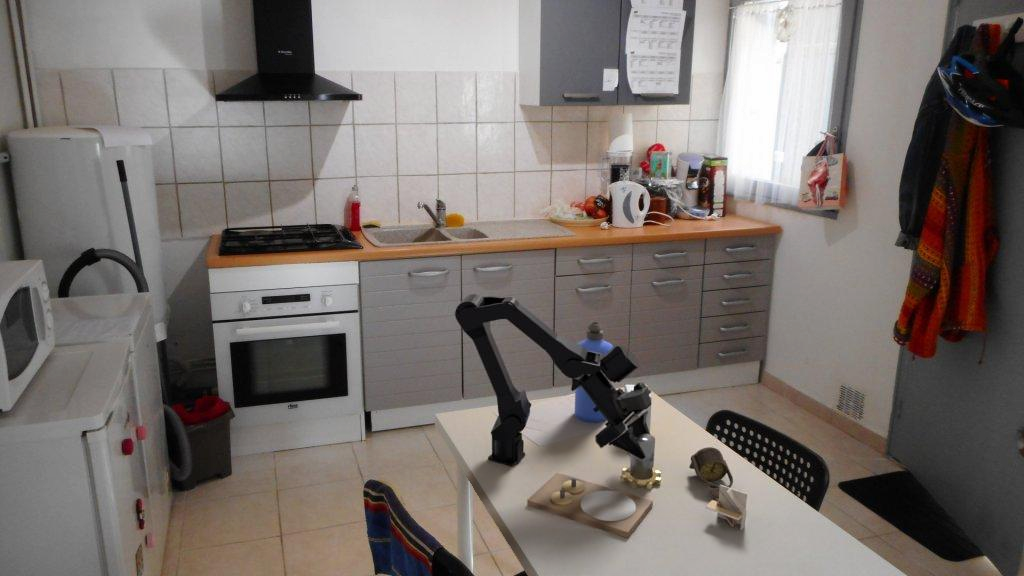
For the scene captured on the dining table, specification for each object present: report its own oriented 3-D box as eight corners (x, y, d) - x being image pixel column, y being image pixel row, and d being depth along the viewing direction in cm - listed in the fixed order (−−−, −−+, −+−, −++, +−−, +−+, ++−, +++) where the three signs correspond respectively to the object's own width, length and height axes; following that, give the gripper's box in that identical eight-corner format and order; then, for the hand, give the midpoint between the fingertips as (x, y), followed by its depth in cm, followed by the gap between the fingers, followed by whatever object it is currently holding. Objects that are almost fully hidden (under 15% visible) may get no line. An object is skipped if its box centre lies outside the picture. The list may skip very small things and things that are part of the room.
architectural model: (738, 536, 145) (741, 501, 143) (704, 523, 149) (707, 489, 147) (744, 528, 147) (748, 494, 145) (711, 515, 151) (714, 482, 149)
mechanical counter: (741, 452, 165) (696, 437, 167) (742, 475, 153) (693, 458, 155) (730, 481, 167) (686, 465, 169) (731, 506, 155) (683, 489, 157)
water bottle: (572, 421, 192) (574, 328, 185) (575, 406, 201) (578, 316, 194) (609, 424, 190) (613, 330, 184) (610, 408, 199) (614, 318, 192)
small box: (650, 437, 183) (652, 397, 181) (626, 437, 184) (628, 397, 181) (645, 422, 191) (647, 384, 188) (622, 422, 191) (624, 384, 188)
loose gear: (614, 482, 163) (616, 441, 160) (630, 465, 170) (632, 426, 167) (652, 493, 158) (655, 451, 156) (666, 475, 166) (669, 435, 163)
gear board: (527, 505, 154) (527, 491, 153) (556, 477, 165) (557, 464, 164) (627, 537, 143) (628, 523, 142) (652, 505, 154) (653, 491, 153)
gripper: (611, 390, 152) (660, 453, 150) (645, 361, 168) (690, 418, 165) (575, 417, 158) (621, 478, 156) (611, 387, 174) (654, 442, 171)
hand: (648, 453), depth 162 cm, fingers closed on loose gear, 5 cm apart
